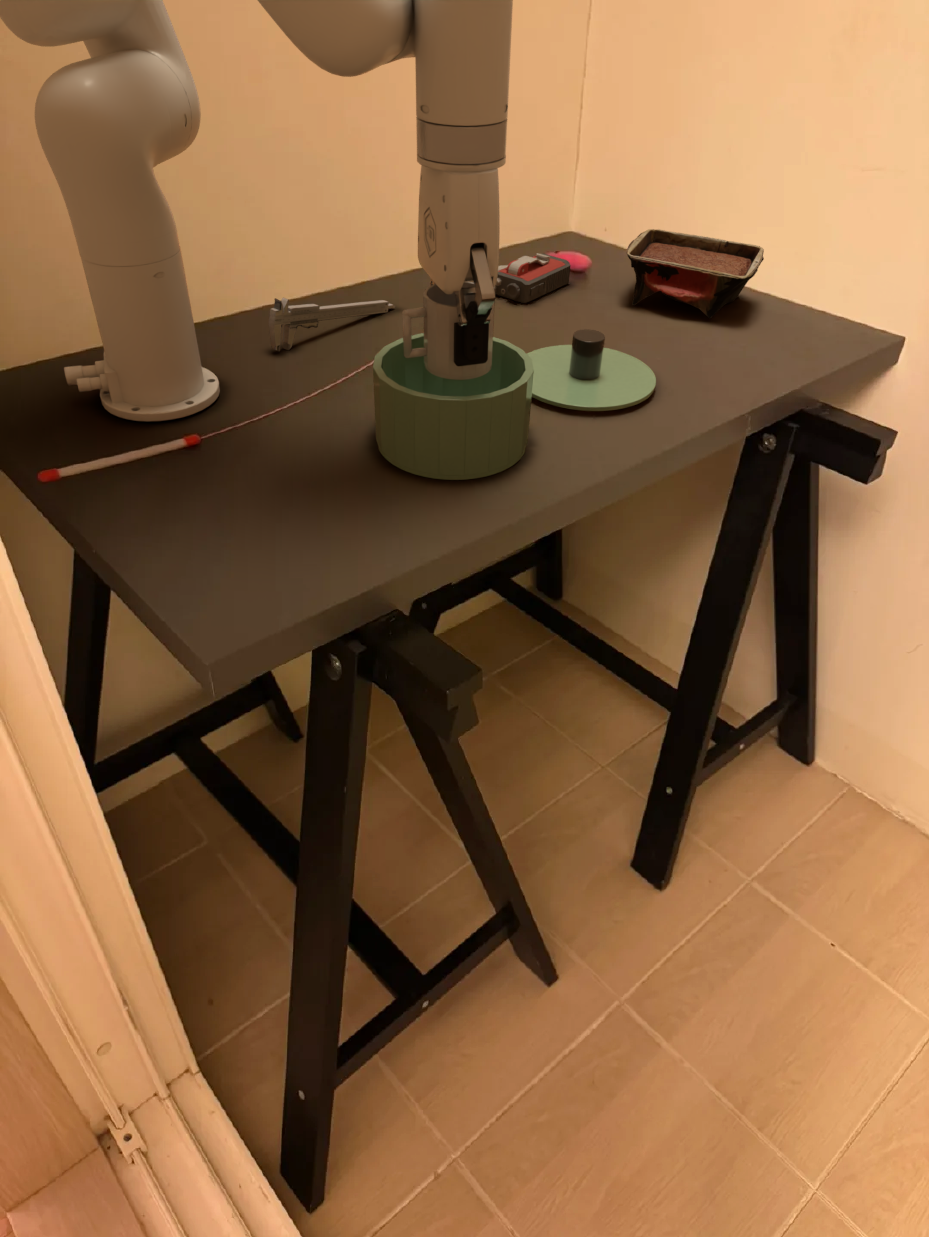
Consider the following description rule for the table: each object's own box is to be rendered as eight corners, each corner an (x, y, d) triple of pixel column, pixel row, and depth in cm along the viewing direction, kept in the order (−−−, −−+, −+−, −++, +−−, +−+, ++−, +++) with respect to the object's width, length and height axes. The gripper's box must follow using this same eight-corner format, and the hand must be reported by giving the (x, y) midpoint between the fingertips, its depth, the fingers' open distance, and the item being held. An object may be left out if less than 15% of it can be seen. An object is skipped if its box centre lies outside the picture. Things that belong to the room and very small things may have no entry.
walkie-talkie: (527, 267, 132) (442, 304, 119) (530, 237, 129) (442, 271, 117) (576, 282, 127) (493, 321, 115) (580, 250, 125) (494, 287, 113)
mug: (479, 348, 89) (481, 278, 84) (501, 375, 84) (504, 303, 79) (395, 357, 87) (392, 287, 82) (413, 386, 82) (411, 312, 77)
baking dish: (720, 345, 116) (751, 271, 110) (601, 297, 121) (624, 223, 114) (747, 318, 127) (777, 249, 120) (637, 274, 131) (659, 205, 125)
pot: (399, 490, 83) (396, 409, 78) (361, 415, 94) (357, 340, 89) (549, 467, 87) (557, 388, 82) (496, 398, 98) (500, 324, 93)
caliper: (277, 355, 106) (271, 303, 102) (271, 352, 106) (265, 301, 102) (395, 309, 118) (394, 262, 114) (389, 307, 118) (388, 260, 114)
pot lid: (544, 424, 94) (549, 374, 90) (492, 361, 106) (495, 315, 102) (680, 405, 98) (690, 357, 95) (616, 346, 110) (622, 302, 106)
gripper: (391, 122, 78) (397, 318, 90) (450, 171, 66) (448, 391, 77) (470, 118, 80) (466, 311, 92) (542, 165, 68) (527, 381, 79)
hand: (458, 346), depth 84 cm, fingers closed on mug, 6 cm apart
